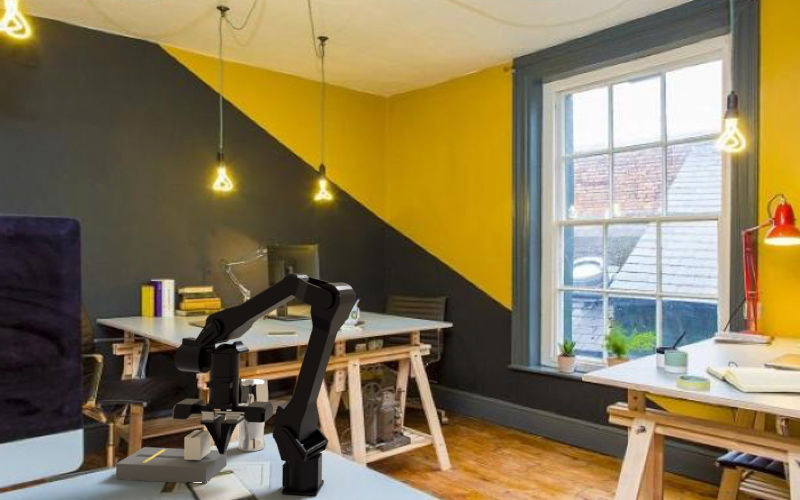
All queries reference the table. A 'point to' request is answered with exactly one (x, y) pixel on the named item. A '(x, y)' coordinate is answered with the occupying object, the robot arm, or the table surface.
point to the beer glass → (253, 431)
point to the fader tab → (197, 445)
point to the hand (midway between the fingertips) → (222, 453)
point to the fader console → (169, 466)
